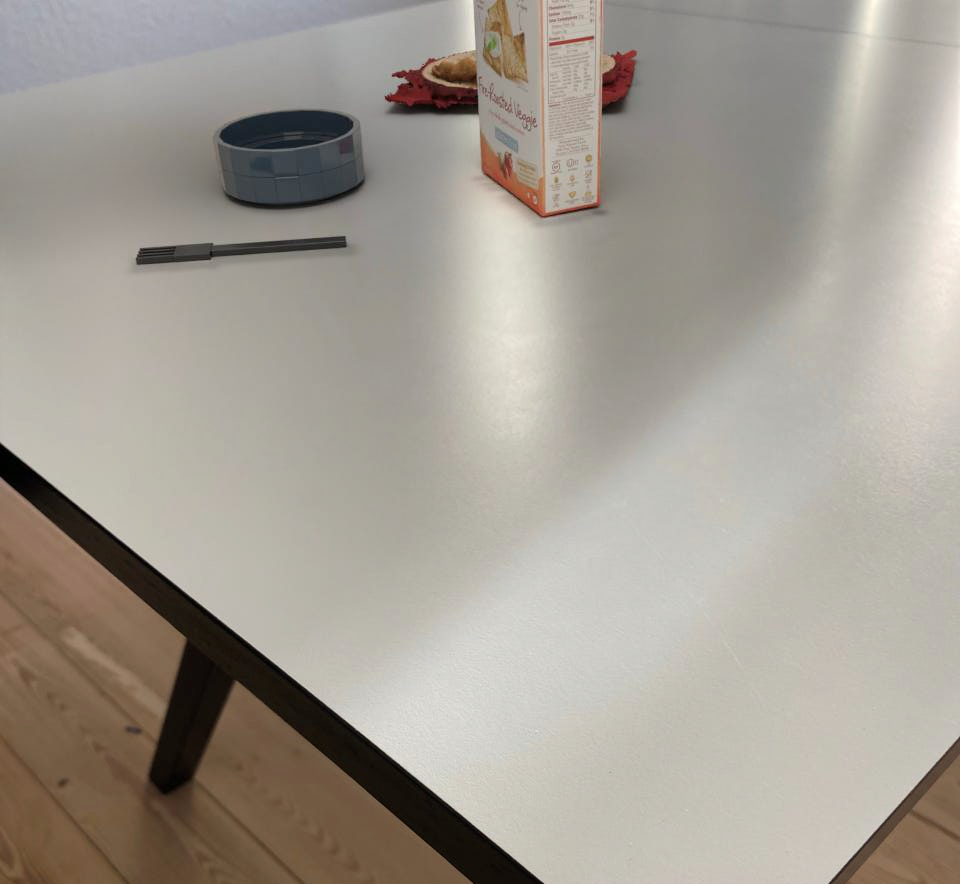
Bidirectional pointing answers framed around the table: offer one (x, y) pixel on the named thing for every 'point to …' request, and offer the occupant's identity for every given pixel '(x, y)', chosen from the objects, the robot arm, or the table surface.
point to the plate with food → (459, 80)
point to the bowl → (290, 156)
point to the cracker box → (541, 99)
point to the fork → (231, 249)
